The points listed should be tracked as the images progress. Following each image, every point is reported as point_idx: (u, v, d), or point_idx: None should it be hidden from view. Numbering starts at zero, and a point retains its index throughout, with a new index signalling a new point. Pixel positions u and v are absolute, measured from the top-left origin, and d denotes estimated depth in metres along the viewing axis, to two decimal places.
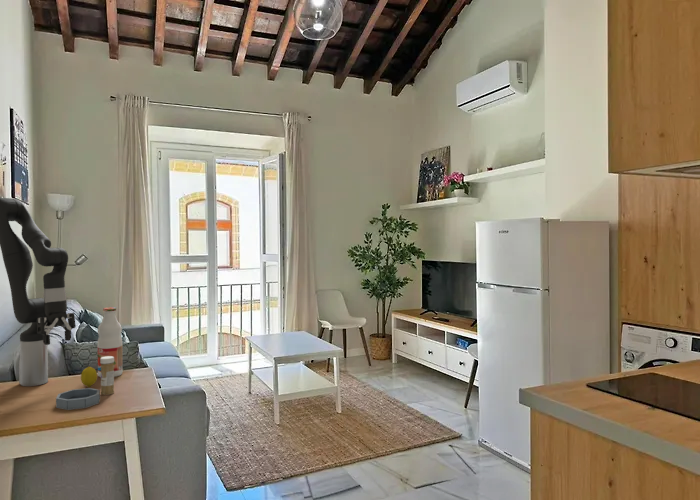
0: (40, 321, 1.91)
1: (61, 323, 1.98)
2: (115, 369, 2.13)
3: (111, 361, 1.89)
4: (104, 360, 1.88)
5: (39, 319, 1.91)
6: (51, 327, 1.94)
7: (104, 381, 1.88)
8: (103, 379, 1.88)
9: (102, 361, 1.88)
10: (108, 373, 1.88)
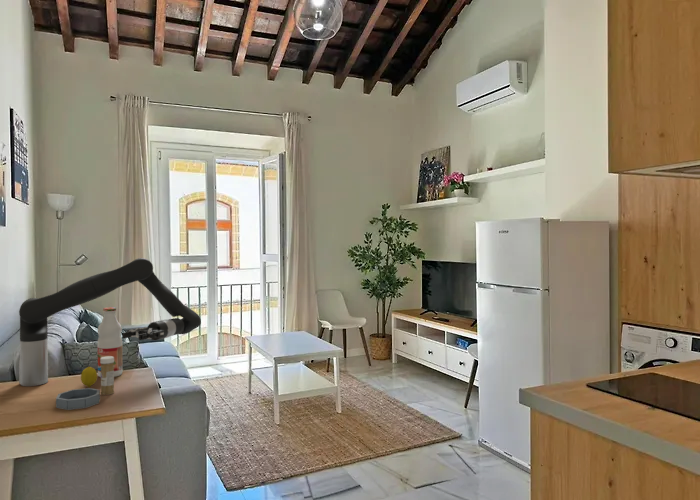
0: (162, 335, 2.06)
1: None
2: (115, 369, 2.13)
3: (111, 361, 1.89)
4: (104, 360, 1.88)
5: (163, 333, 2.06)
6: (150, 338, 2.04)
7: (104, 381, 1.88)
8: (103, 379, 1.88)
9: (102, 361, 1.88)
10: (108, 373, 1.88)
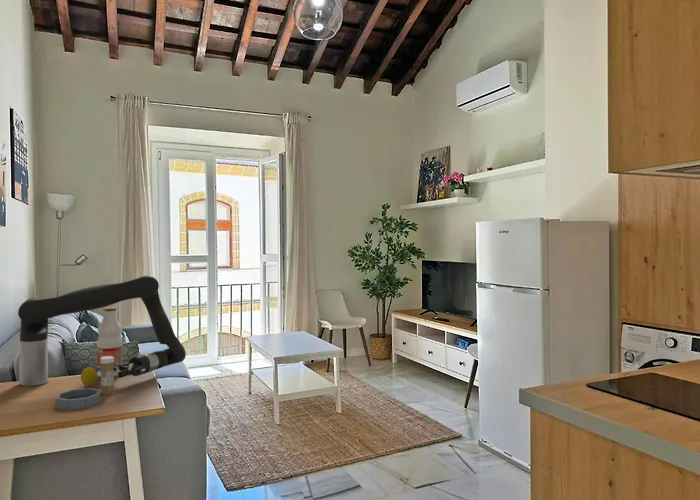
0: (143, 371, 1.97)
1: None
2: None
3: (111, 361, 1.89)
4: (104, 360, 1.88)
5: (144, 369, 1.98)
6: None
7: (104, 381, 1.88)
8: (103, 379, 1.88)
9: (102, 361, 1.88)
10: (108, 373, 1.88)
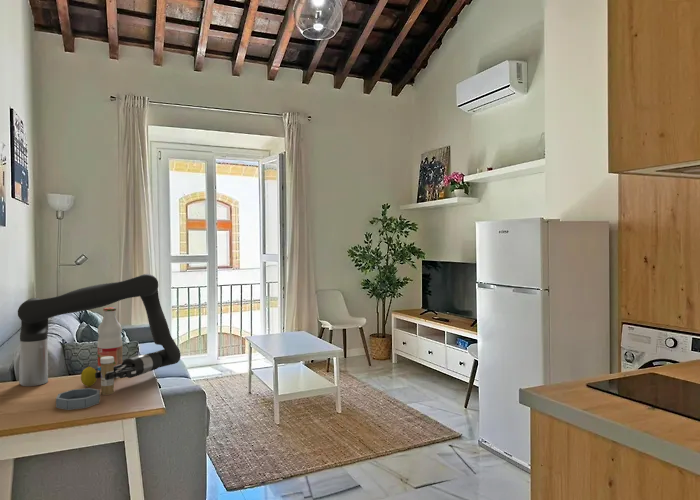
0: (132, 374, 1.93)
1: None
2: None
3: (111, 361, 1.89)
4: (104, 360, 1.88)
5: (134, 372, 1.94)
6: None
7: (104, 381, 1.88)
8: (103, 379, 1.88)
9: (102, 361, 1.88)
10: None
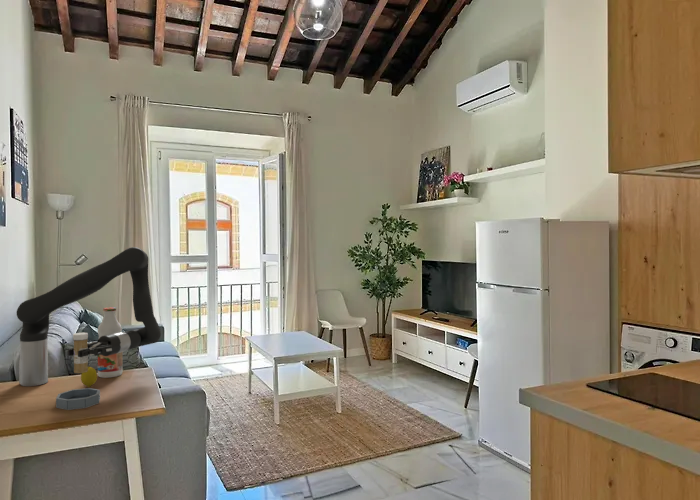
0: (108, 351, 1.83)
1: None
2: (115, 369, 2.13)
3: (84, 337, 1.79)
4: (77, 336, 1.77)
5: (110, 349, 1.83)
6: None
7: (78, 359, 1.78)
8: (76, 357, 1.78)
9: (75, 337, 1.77)
10: None
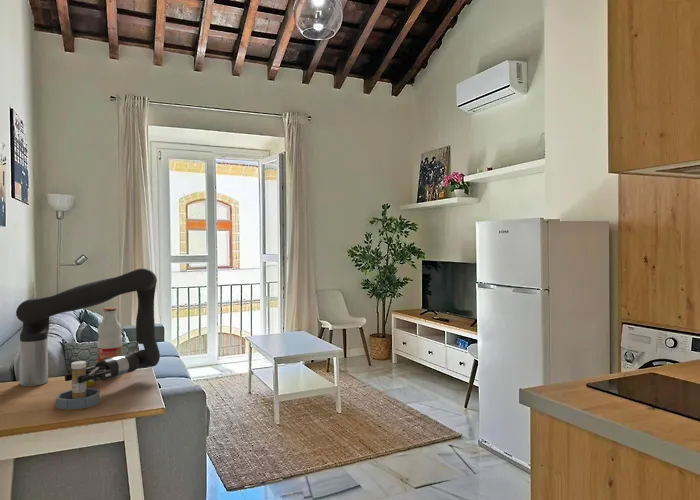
0: (107, 377, 1.82)
1: None
2: None
3: (83, 366, 1.78)
4: (75, 365, 1.77)
5: (109, 374, 1.83)
6: None
7: (76, 388, 1.77)
8: (75, 386, 1.77)
9: (73, 366, 1.77)
10: None
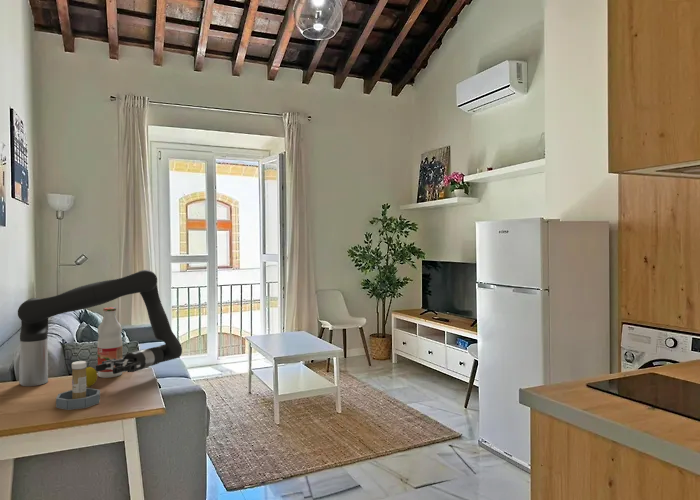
0: (138, 367, 1.95)
1: None
2: None
3: (83, 366, 1.78)
4: (75, 365, 1.77)
5: (139, 365, 1.95)
6: None
7: (76, 388, 1.77)
8: (75, 386, 1.77)
9: (73, 366, 1.77)
10: (79, 379, 1.77)
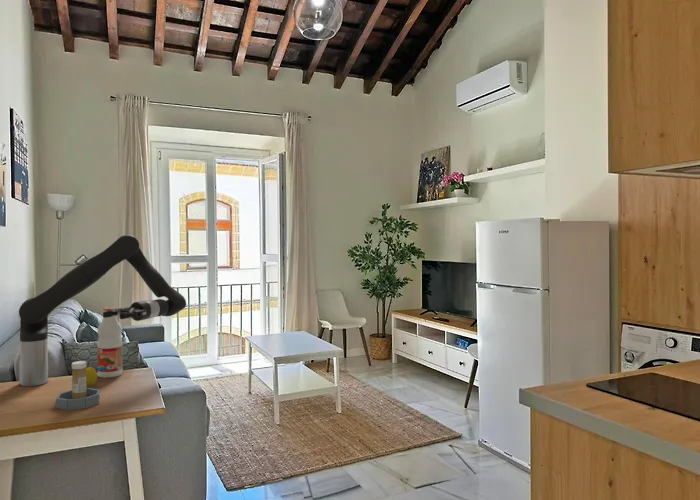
0: (144, 315, 2.00)
1: None
2: (115, 369, 2.13)
3: (83, 366, 1.78)
4: (75, 365, 1.77)
5: (145, 313, 2.00)
6: None
7: (76, 388, 1.77)
8: (75, 386, 1.77)
9: (73, 366, 1.77)
10: (79, 379, 1.77)
